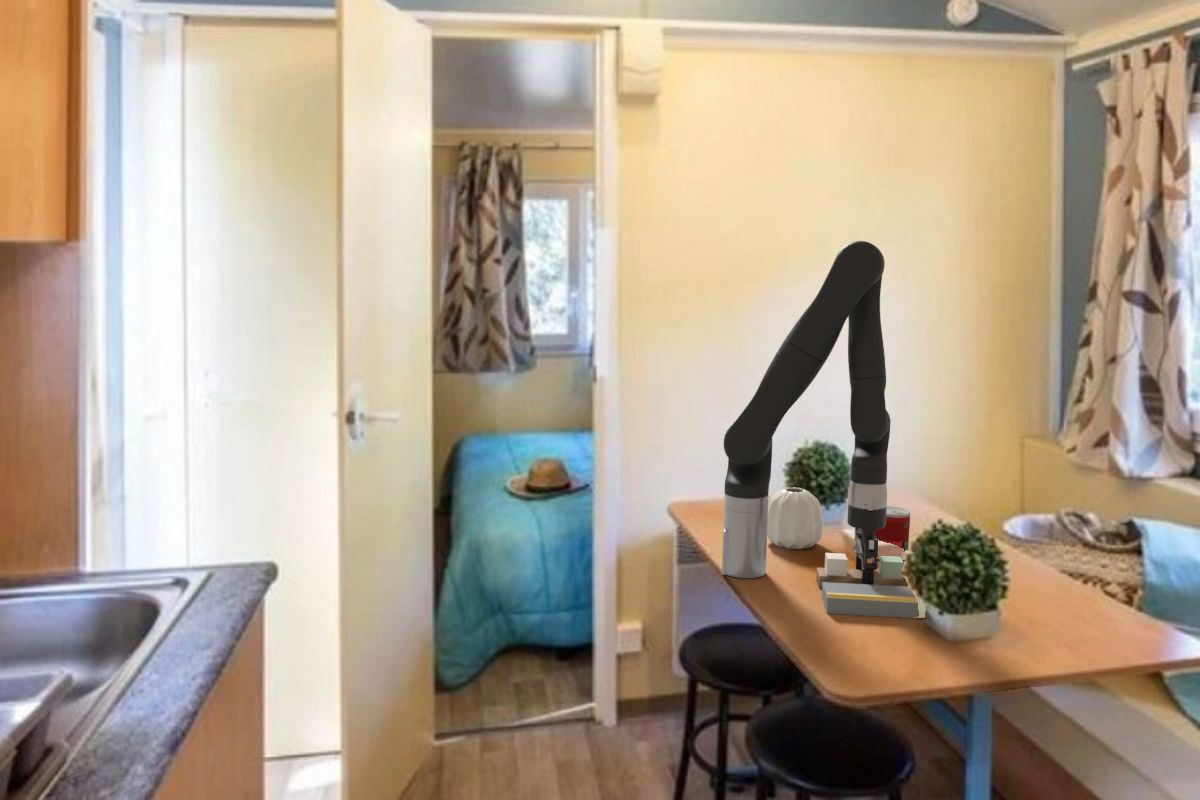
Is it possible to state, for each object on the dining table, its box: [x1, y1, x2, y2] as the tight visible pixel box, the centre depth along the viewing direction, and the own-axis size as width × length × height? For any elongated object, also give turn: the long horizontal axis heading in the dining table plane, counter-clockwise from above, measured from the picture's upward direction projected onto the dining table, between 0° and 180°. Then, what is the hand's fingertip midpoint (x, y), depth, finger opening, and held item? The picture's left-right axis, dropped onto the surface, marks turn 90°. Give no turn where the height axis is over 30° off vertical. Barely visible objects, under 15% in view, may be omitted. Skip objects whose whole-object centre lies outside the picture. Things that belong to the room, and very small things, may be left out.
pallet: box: [815, 567, 908, 589], centre depth 183 cm, size 18×6×3 cm, turn 82°
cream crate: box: [824, 552, 849, 576], centre depth 184 cm, size 4×4×4 cm
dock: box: [821, 582, 919, 619], centre depth 171 cm, size 18×9×4 cm, turn 82°
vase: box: [767, 486, 824, 550], centre depth 211 cm, size 14×14×13 cm
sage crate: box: [878, 556, 905, 579], centre depth 182 cm, size 4×4×4 cm
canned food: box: [874, 505, 911, 551], centre depth 202 cm, size 8×8×11 cm
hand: (864, 580), depth 183 cm, fingers open, 8 cm apart
